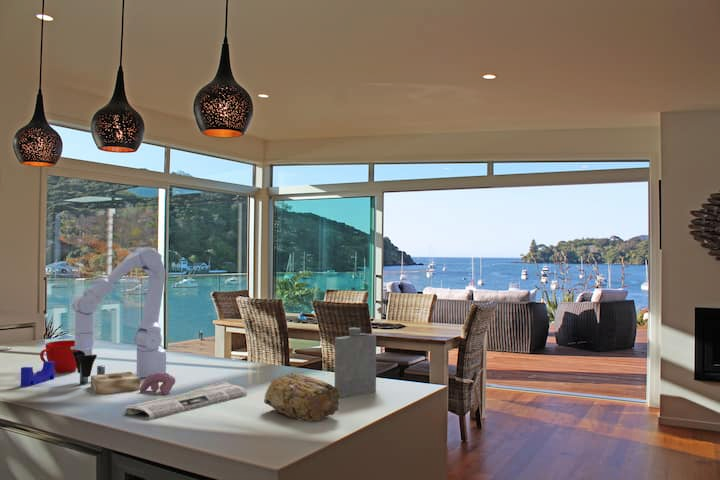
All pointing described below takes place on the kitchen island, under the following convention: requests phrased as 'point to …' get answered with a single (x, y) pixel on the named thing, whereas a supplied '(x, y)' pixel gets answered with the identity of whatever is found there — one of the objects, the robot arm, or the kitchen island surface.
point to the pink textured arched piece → (155, 379)
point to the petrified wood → (302, 397)
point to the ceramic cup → (60, 355)
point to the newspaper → (188, 400)
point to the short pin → (100, 370)
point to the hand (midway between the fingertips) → (83, 374)
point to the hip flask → (355, 363)
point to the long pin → (83, 378)
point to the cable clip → (37, 374)
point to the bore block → (115, 382)
